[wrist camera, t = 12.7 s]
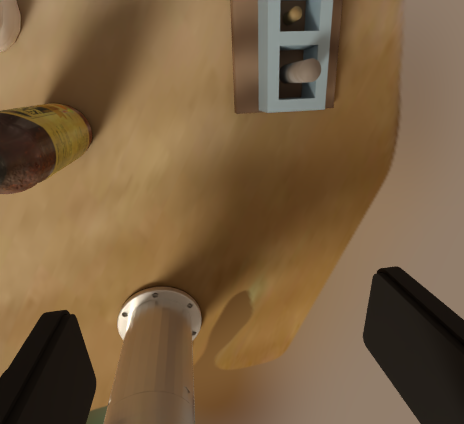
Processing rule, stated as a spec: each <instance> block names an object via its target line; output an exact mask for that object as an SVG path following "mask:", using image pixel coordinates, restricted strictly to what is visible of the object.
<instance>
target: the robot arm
mask: <svg viewBox="0 0 464 424" xmlns="http://www.w3.org/2000/svg"><path fill="white" fill-rule="evenodd" d="M201 320H202V318H201V311H200V308H199V305H198V304H197V302H196V301H195V300H194V299H193V298H192V297H191V296H190V295H188V294H187V293H185V292H184V291H181V290H179V289H176V288H171V287H152V288H148V289H144V290H142V291H139V292H137V293H136V294H134V295H133V296H131V297H130V298H129V299H128V300H127V301H126V302H125V303H124V305H123V306H122V308H121V310H120V313H119V316H118V320H117V327H118V331H119V334H120V336H121V337H122V339H123V340H124V341H123V345H122V349H121V354H120V358H119V362H118V366H117V370H116V374H115V378H114V382H113V387H112V391H111V395H110V399H109V403H108V407H107V412H106V416H105V420H104V424H195V414H194V413H195V412H194V381H193V349H192V341H193V340H194V339H195V337H196V336H197V335H198V333H199V331H200V328H201ZM363 339H364V343H365V345H366V347H367V348H368V350H369V351H370V353H371V354H372V356H373V357H374V358H375V360H376V361H377V363H378V364H379V365H380V367H381V368H382V370H383V371H384V372H385V374H386V375H387V377H388V378H389V379H390V381H391V382H392V384H393V385H394V387H395V388H396V389H397V391H398V392H399V393H400V395H401V397H402V398H403V399H404V401H405V402H406V404H407V405H408V406H409V408H410V409H411V411H412V412H413V414H414V415H415V416H416V418H417V419H418V421H419V422H420V423H421V424H464V320H463V319H462V318H460V317H459V316H458V315H457V314H456V313H454V312H453V311H452V310H451V309H450V308H449V307H447V306H446V305H445V304H444V303H442V302H441V301H440V300H439V299H438V298H436V297H435V296H434V295H433V294H432V293H430V292H429V291H428V290H427V289H426V288H424V287H423V286H422V285H421V284H419V283H418V282H417V281H416V280H415V279H413V278H412V277H411V276H410V275H409V274H407V273H406V272H405V271H404V270H402V269H401V268H399V267H388V268H381V269H379V270H378V271H377V274H374V276H373V279H372V285H371V291H370V297H369V303H368V308H367V314H366V321H365V326H364V332H363ZM95 390H96V377H95V374H94V371H93V367H92V364H91V361H90V358H89V355H88V352H87V349H86V346H85V343H84V340H83V337H82V333H81V330H80V327H79V324H78V321H77V318H76V316H75V315H74V314H70V313H69V312H68V311H67V310H61V311H53V312H46V313H44V314H43V315H42V316H41V317H40V319H39V320H38V322H37V323H36V325H35V327H34V328H33V330H32V331H31V333H30V334H29V336H28V338H27V339H26V341H25V342H24V344H23V346H22V347H21V349H20V350H19V352H18V353H17V355H16V357H15V358H14V360H13V361H12V363H11V365H10V366H9V368H8V369H7V370H6V371H5V372H4V373H3V374H2V376H1V377H0V424H86V421H87V418H88V415H89V411H90V408H91V404H92V401H93V398H94V394H95Z"/></svg>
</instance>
